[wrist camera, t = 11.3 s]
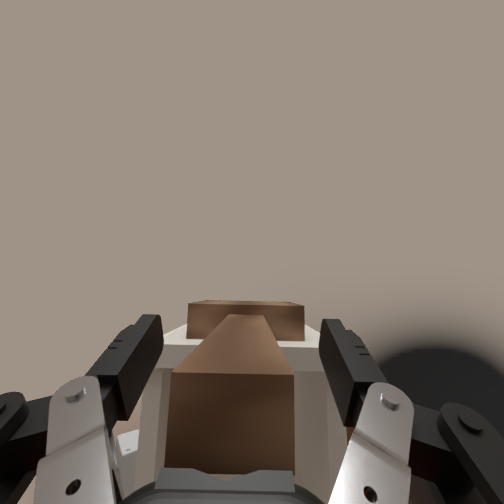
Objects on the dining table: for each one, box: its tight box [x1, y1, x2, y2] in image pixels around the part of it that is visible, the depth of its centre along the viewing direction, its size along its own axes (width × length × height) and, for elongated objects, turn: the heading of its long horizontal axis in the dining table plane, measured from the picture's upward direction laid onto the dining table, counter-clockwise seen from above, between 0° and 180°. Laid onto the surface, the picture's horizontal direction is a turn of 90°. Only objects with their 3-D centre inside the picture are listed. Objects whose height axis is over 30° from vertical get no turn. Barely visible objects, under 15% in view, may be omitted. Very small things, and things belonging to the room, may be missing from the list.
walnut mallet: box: [164, 300, 305, 476], centre depth 20 cm, size 12×28×4 cm, turn 0°
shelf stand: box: [134, 324, 347, 504], centre depth 27 cm, size 18×18×31 cm
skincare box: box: [116, 429, 139, 498], centre depth 36 cm, size 6×4×12 cm
